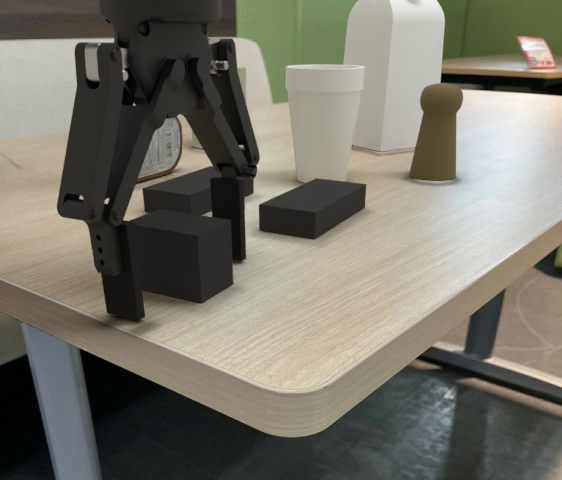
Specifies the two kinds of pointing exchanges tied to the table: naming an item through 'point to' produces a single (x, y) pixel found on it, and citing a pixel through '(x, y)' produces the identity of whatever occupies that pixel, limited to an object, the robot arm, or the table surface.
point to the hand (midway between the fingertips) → (183, 283)
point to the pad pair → (273, 213)
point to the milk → (393, 67)
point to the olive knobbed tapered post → (437, 133)
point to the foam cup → (323, 117)
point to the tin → (163, 150)
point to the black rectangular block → (184, 254)
